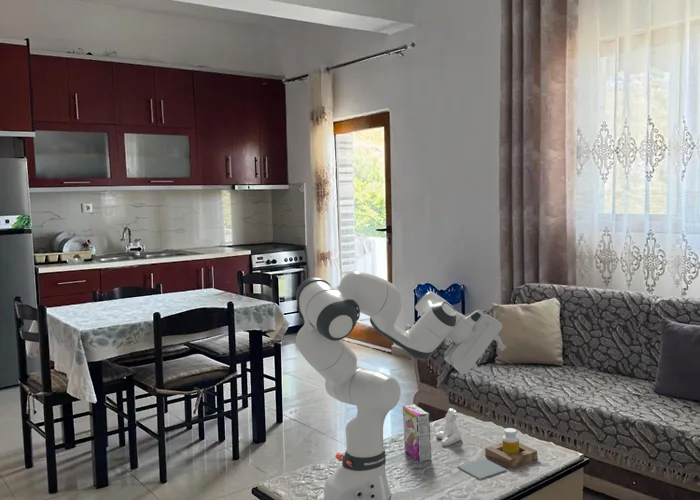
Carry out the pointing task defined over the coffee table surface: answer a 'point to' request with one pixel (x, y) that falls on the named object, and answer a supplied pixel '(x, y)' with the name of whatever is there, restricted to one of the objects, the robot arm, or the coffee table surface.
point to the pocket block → (513, 460)
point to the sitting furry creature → (450, 429)
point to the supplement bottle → (510, 441)
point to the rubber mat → (482, 468)
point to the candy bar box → (417, 432)
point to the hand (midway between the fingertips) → (495, 360)
